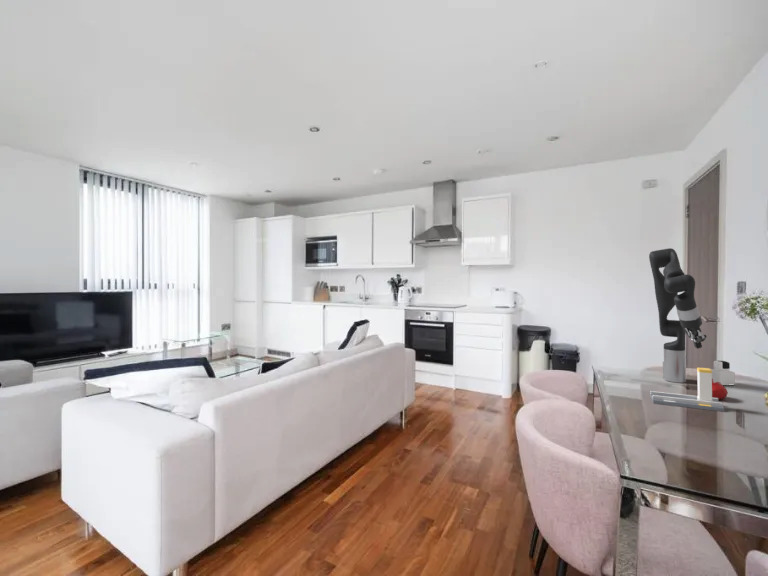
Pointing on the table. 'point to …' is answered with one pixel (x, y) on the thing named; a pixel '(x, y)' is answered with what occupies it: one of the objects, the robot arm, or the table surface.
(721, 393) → the red round fruit
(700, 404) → the switch plate
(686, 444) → the table surface
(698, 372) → the switch tab
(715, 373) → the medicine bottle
